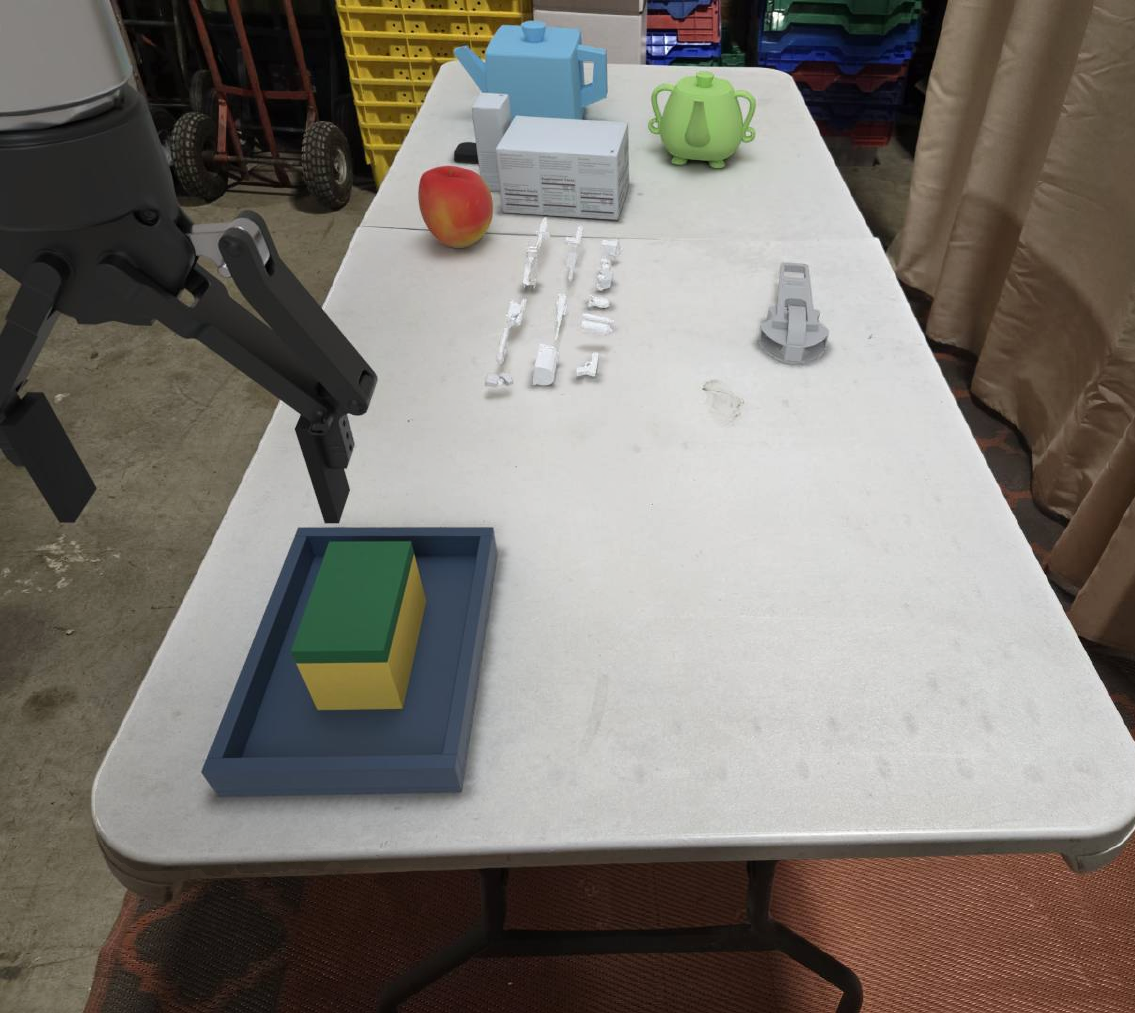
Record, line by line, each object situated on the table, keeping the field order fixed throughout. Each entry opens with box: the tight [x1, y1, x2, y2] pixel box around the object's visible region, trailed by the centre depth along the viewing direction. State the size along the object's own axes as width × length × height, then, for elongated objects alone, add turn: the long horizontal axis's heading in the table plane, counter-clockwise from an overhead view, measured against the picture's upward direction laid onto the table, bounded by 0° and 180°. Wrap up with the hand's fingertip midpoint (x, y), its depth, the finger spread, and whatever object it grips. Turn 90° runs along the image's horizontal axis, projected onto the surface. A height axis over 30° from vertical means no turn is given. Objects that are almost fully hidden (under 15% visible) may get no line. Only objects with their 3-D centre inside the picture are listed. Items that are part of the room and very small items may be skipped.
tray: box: [200, 526, 498, 798], centre depth 63 cm, size 22×16×3 cm
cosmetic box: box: [471, 92, 511, 192], centre depth 123 cm, size 6×4×12 cm
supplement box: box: [495, 116, 630, 221], centre depth 121 cm, size 17×13×9 cm
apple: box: [417, 165, 494, 249], centre depth 110 cm, size 10×10×10 cm
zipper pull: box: [758, 261, 830, 365], centre depth 101 cm, size 8×18×4 cm, turn 175°
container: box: [452, 20, 609, 123], centre depth 141 cm, size 17×25×15 cm
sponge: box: [291, 541, 426, 710], centre depth 61 cm, size 10×6×7 cm, turn 3°
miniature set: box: [484, 217, 623, 388], centre depth 100 cm, size 6×35×12 cm
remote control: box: [453, 141, 479, 164], centre depth 133 cm, size 5×2×15 cm
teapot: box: [647, 70, 757, 169], centre depth 133 cm, size 16×14×13 cm
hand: (210, 506), depth 46 cm, fingers open, 13 cm apart
